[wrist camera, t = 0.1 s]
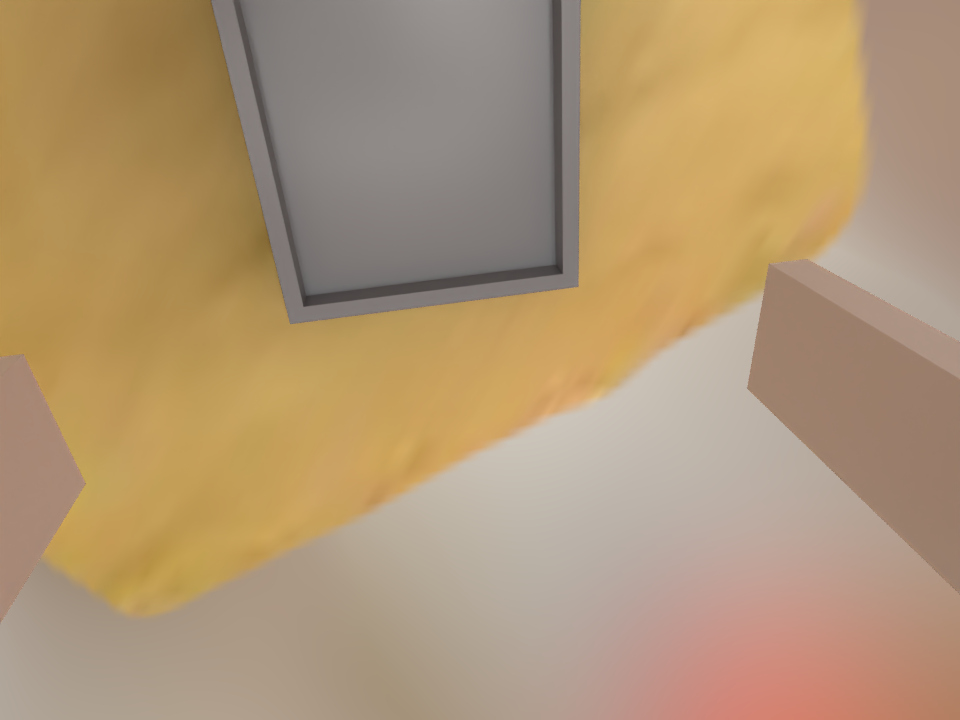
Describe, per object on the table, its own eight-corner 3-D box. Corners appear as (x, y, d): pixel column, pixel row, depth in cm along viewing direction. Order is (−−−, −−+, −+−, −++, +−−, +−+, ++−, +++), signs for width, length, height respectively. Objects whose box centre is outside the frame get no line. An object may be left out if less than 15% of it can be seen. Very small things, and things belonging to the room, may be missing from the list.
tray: (192, -123, 29) (178, -134, 27) (566, -143, 31) (581, -156, 29) (294, 307, 40) (290, 324, 38) (567, 272, 42) (578, 286, 39)
